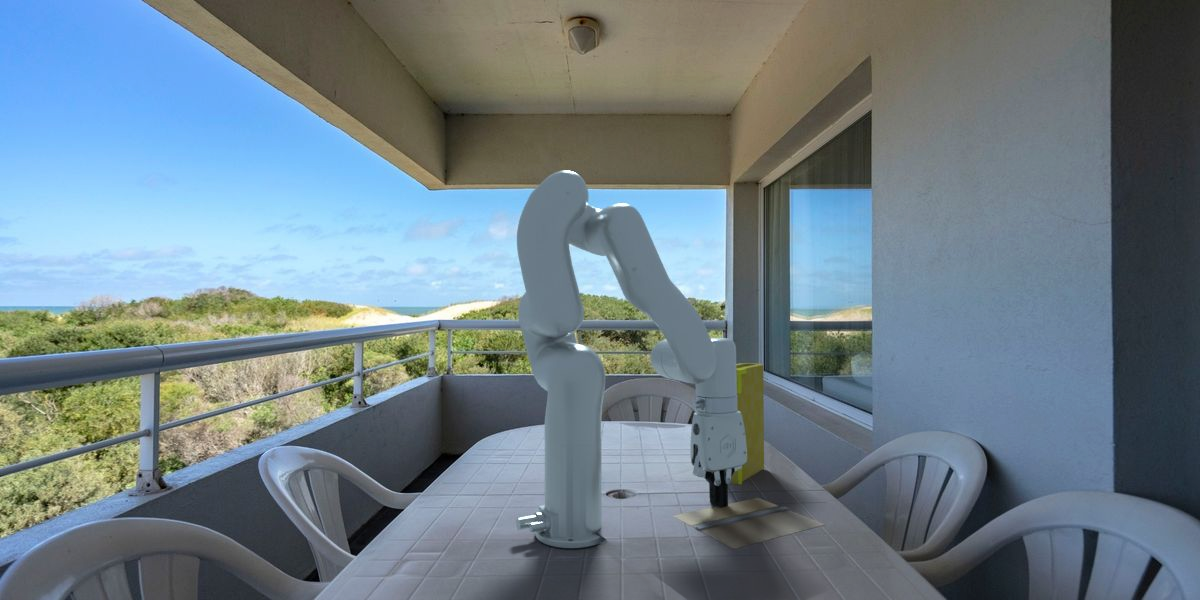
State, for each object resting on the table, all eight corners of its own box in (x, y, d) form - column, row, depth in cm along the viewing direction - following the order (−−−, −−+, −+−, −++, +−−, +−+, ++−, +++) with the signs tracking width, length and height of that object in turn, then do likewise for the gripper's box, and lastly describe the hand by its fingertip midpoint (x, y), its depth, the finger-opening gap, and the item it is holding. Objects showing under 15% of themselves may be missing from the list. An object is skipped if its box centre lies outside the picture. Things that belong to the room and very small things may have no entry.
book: (740, 491, 115) (739, 370, 115) (710, 485, 119) (709, 368, 119) (769, 473, 128) (768, 364, 129) (742, 468, 132) (741, 362, 133)
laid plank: (733, 558, 83) (733, 546, 83) (692, 535, 92) (691, 524, 92) (825, 533, 93) (825, 522, 93) (780, 514, 102) (779, 504, 102)
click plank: (690, 534, 93) (690, 525, 93) (656, 516, 101) (656, 507, 101) (778, 513, 102) (778, 505, 102) (740, 498, 111) (740, 490, 111)
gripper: (697, 412, 96) (699, 519, 96) (761, 403, 103) (763, 503, 103) (671, 406, 103) (673, 506, 102) (733, 398, 110) (735, 492, 110)
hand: (718, 504), depth 103 cm, fingers closed
